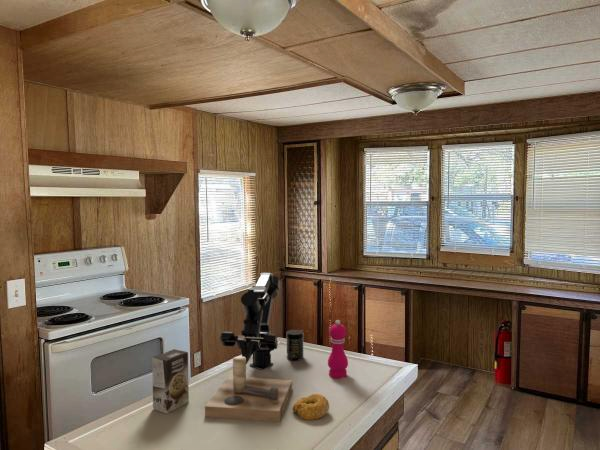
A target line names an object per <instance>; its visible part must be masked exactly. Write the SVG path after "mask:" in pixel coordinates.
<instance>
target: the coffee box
mask: <svg viewBox="0 0 600 450" xmlns="http://www.w3.org/2000/svg"><path fill="white" fill-rule="evenodd" d="M151 359H152V361H151V362H152V363H151V364H152V365H151V366H152V369H151V370H152V409H153V410H155V411H158V412H161V413H162V414H169V413H171V412H173V411H175V410H177V409H179V408H181V407H183V406H184V405H187V404H188V403H189V402H190V399H189V398H190V396H189V395H190V394H189V393H190V392H189V353H188V351H184V350H180V349H179V350H178V349H176V348H175V349H171V350H169V351H166V352H162V353H160V354H157V355H155V356H152V357H151Z"/></svg>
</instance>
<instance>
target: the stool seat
mask: <svg viewBox="0 0 600 450" xmlns="http://www.w3.org/2000/svg"><path fill="white" fill-rule="evenodd" d="M246 385H247V386H252V387H257V388H263V389H268V390H270V388H273V387H276V388H278V399H271V398H270V397H266V396H261V395H256V394H251V393H245V392H241V393H237V392H234V391H233V376H227V377H226V378H225V380H224V381H223V382H222V384H221V385H220V386H219V387H218V389H217V390H216V391H215V393H214V394H213V396H212V397H210V398H209V400H208V402H207V403H206V404H205V405H204V417H211V418H225V419H226V418H227V419H241V420H253V421H267V422H268V421H269V422H280V420H281V418H282V416H283V413H284V410H285V408H286V405H287V403H288V400H289V398H290V395H291V393H292V390H293V380H292V379H281V378H280V379H279V378H278V379H277V378H261V377H246Z"/></svg>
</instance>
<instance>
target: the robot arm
mask: <svg viewBox="0 0 600 450" xmlns="http://www.w3.org/2000/svg"><path fill="white" fill-rule="evenodd" d="M280 290H281V280H280V279H279V277H278V276H275V275H274V273H272V272H261V273H259V276H258V280H257V282H256V284H255V285H254V286H253V287H250V288H249V289H248V290H247V292H245V293H243V294H242V295H241V298H240V302H241V305H242V309H243V310H244V311H243V312H244V313H245V317H244V319H243V327H242V330H241V331H240V333H241V335H235V334H234V331H223V332H221V334H220V337H219V339H220V341H221V343H222V345H223V347H234V346H235V345H237V348H238V349H239V350H240V352H241V356H243V357H246V365H247V364H248V363H249V361H250V359H251V357H252V363H250V364H249V366H250V367H252V368H256V369H259V370H264V369H266V368H269V367H270V366H273V365H274V363H273V362H272V354H271V352H272V351H274V350H276V349H278V345H279V343H278V338H277V335H276V334H275V333H271V330H270V329H271V328H270V327H269V325H270V319H271V313H272V308H273V307H272V306H273V302H274V300H275V298H276V297H277V296H278V295H279V291H280Z"/></svg>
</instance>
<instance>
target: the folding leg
mask: <svg viewBox="0 0 600 450" xmlns="http://www.w3.org/2000/svg"><path fill="white" fill-rule="evenodd" d="M232 377H233V391H234V392H237V393H241V392H245V393H251V394H256V395H261V396H266V397H270V398H271V399H278V388H276V387H273V388H270V390H268V389H263V388H257V387H252V386H247V385H246V378H247V364H246V357H243V356H242V355H239V356H234V357H233V358H232Z"/></svg>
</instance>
